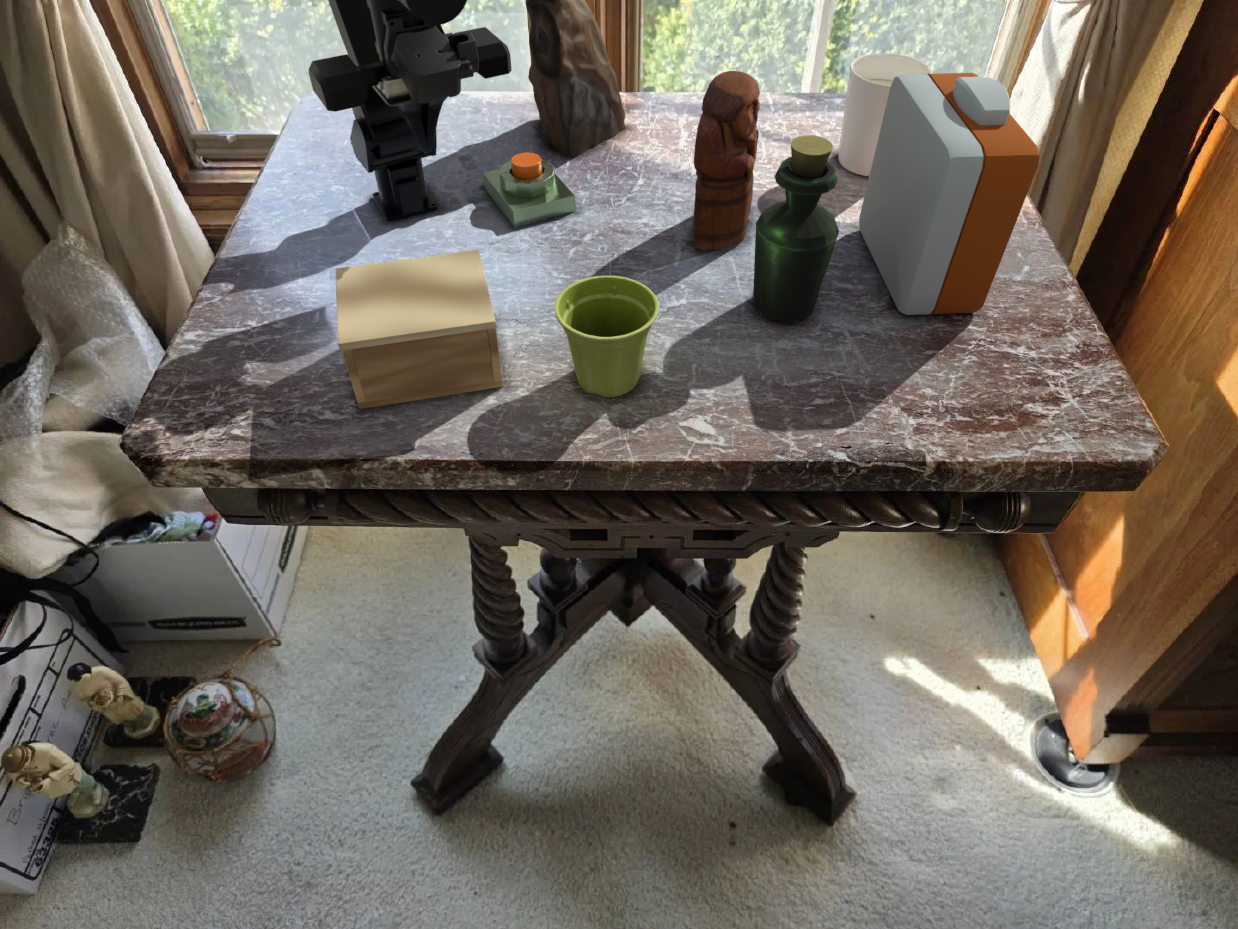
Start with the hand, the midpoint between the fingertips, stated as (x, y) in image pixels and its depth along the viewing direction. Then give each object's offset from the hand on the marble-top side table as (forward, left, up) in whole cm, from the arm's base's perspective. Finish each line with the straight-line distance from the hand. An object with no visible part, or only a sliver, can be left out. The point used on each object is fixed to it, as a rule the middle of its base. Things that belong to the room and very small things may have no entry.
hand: (426, 150), depth 89 cm
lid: (+19, -8, -4) cm, 21 cm away
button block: (-6, +13, -12) cm, 19 cm away
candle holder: (+5, +57, -12) cm, 59 cm away
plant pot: (+28, +7, -12) cm, 32 cm away
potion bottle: (+26, +29, -12) cm, 41 cm away
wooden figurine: (+10, +31, -12) cm, 35 cm away
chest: (+18, -8, -12) cm, 23 cm away
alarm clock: (+27, +46, -12) cm, 55 cm away
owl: (-19, +26, -12) cm, 34 cm away
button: (-6, +13, -8) cm, 17 cm away
